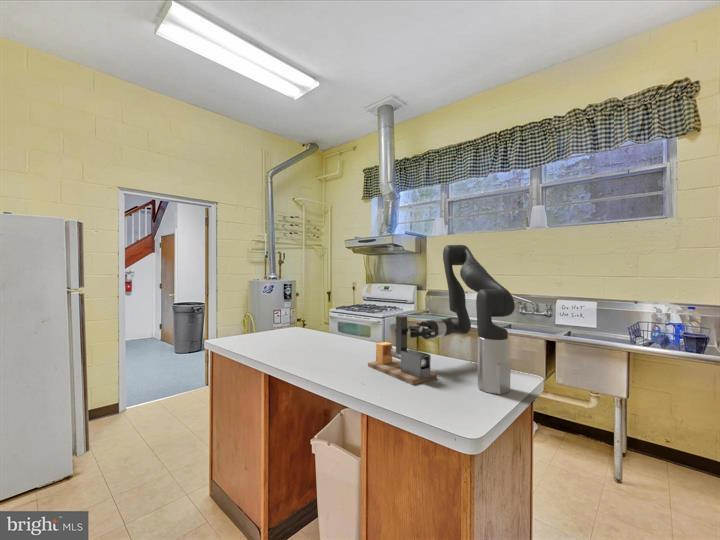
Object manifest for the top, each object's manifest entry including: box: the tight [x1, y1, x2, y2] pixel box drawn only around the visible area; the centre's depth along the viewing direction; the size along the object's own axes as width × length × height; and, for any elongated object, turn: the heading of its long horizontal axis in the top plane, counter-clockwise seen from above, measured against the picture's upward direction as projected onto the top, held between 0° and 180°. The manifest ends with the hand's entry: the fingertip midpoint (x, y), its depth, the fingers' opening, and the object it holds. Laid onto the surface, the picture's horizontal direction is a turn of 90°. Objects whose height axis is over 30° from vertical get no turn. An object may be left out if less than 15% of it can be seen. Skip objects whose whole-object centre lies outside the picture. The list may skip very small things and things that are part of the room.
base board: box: [367, 358, 438, 386], centre depth 124 cm, size 26×12×2 cm, turn 35°
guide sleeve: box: [400, 348, 431, 379], centre depth 118 cm, size 10×5×8 cm, turn 35°
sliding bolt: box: [389, 315, 427, 367], centre depth 121 cm, size 18×3×16 cm, turn 35°
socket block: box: [375, 341, 393, 364], centre depth 133 cm, size 4×5×8 cm
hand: (403, 332), depth 125 cm, fingers open, 8 cm apart
